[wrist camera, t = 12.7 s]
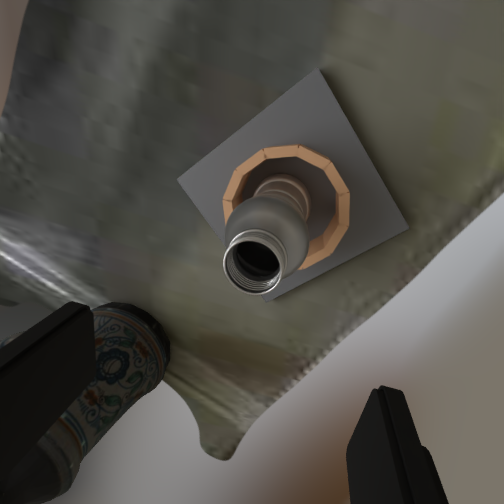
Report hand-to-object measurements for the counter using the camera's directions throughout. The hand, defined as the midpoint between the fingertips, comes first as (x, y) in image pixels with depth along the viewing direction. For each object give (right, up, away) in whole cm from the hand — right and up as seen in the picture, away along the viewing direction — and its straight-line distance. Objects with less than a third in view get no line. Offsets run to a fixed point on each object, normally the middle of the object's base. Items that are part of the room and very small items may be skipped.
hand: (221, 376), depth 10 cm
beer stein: (-21, -10, +41) cm, 47 cm away
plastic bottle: (+5, +10, +26) cm, 29 cm away
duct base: (+6, +10, +27) cm, 30 cm away
